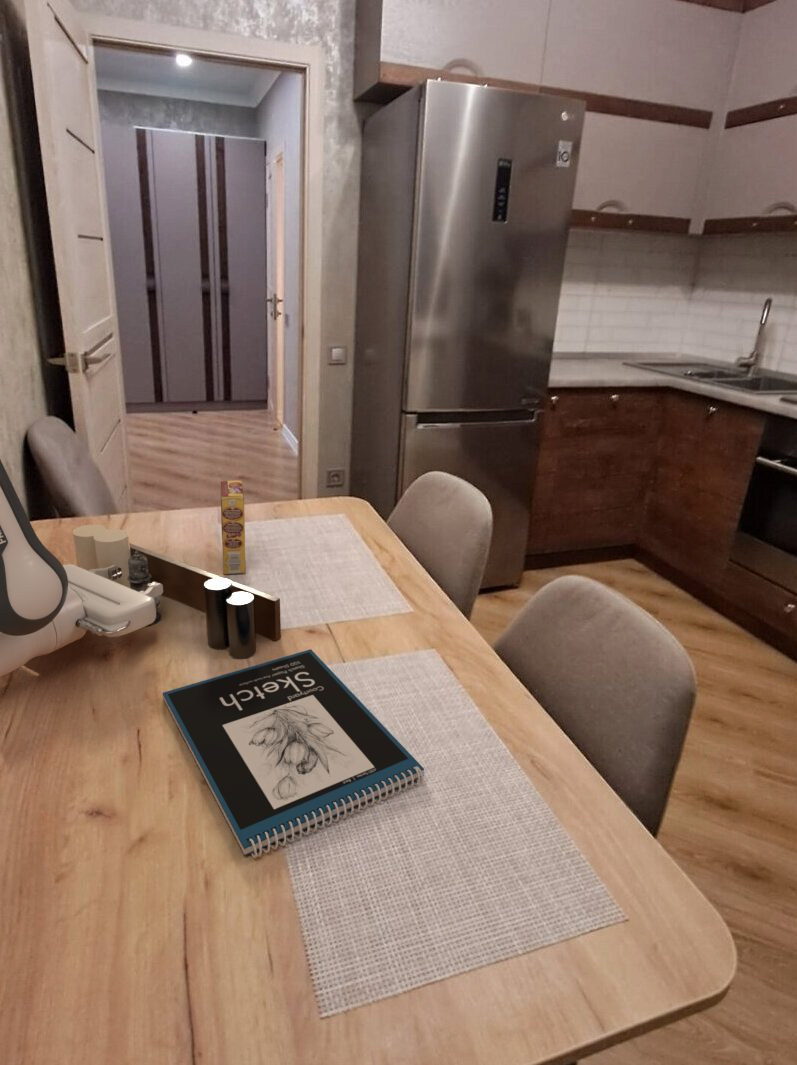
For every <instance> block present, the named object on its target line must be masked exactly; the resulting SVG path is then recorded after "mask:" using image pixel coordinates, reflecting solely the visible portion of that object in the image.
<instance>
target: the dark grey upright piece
mask: <svg viewBox="0 0 797 1065" xmlns="http://www.w3.org/2000/svg"><path fill="white" fill-rule="evenodd" d="M134 553H135V555H133V556H131V557H130V558H129V559H128V567H129V576H128V577H127V580H128V581H129V582H130V588H131V589H133V590H135V591H138V592H140V591H144V592H145V591H146V590H147V584H149V583H150V579H151V578H152V575H151V574H150V573H149V571H148V562H147V558H146V557H145V556H143V555H140V554H138V553H139V552H138V551H137V550H136V551H135V552H134ZM162 598H163V595H159V596H157V597H155V598H154V600H155V606H156V619H155V621H154V622H153V623H151V624H149V625H147V626H145V627H144V628H146V627H151V626H154V625H156V624H158V623H159V622H160V621H161V620H162V618H163V615H162V613H161V612H159V611H158V609H160V605H161V601H162Z"/></svg>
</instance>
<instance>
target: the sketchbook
mask: <svg viewBox="0 0 797 1065" xmlns="http://www.w3.org/2000/svg"><path fill="white" fill-rule="evenodd" d="M162 700H163V702H164V704H165V706H166V708H167V709H168V712H169V714H170V715H171V717H172V719H173V721H174V723H175V725H176V727H177V729H178V731H179V732H180V734H181V737H182V739H183V741H184V742H185V744H186V746H187V749H188V750H189V751H190V754H191V756H192V758H193V759H194V761H195V763H196V765H197V767H198V769H199V771H200V773H201V775H202V777H203V779H204V781H205V783H206V785H207V786H208V788H209V790H210V792H211V794H212V797H213V798H214V800H215V802H216V803H217V806H218V807H219V809H220V812H221V814H222V815H223V818H224V819H225V821H226V823H227V825H228V827H229V829H230V830H231V833H232V834H233V836H234V838H235V840H236V842H237V844H238V846H239V848H240V850H241V851H242V853H243V855H244V857H246V856H248V855H251V857H252V858H253V859H255V860H256V859H257V858H259V857H261V856H262V853H263V852H264V853H265V854H269V852H270V851H271V849H272V850H273V851H275V850H278V847H279V846H280V847H284V846H285V845H286V843H287V842H288V843H293V842H294V839H297V840H300V839H301V838H302V835H303V836H308V835H309V834H310V832H312V833H315V832H316V831H317V829H320V830H321V829H323V828H324V827H325V825H326V826H330V825H332V822H334V823H337V822H338V821H339V819H346V817H347V816H352V815H353V814H354V813H359V812H360V810H361V809H362V810H366V809H367V807H368V806H369V807H372V806H374V804H375V803H376V804H379V803H380V802H381V801H386V800H388V797H389V798H392V797H393V796H394V795H395V794H396V795H399V794H400V793H401V792H405V791H407V789H412V788H413V786H418V785H419V784H422V783H423V782H424V776H425V768H424V767H423V766H422V765H421V763H419V761H417V759H416V758H415V757H414V756H413V755H412V754H411V753H410V752H409V751H408V750H407V749H406V748H405V747H404V746H403V744H402V743H400V741H398V739H397V738H395V736H394V735H393V734H392V733H391V732H390V731H389V730H388V728H386V726H384V724H383V723H381V721H380V720H379V719H378V718H377V717H376V716H375V715H374V714H373V712H371V711H370V709H368V708H367V706H365V705H364V704H363V703H362V701H361V700H360V699H359V698H358V697H357V696H356V695H355V694H354V693H353V692H352V691H351V689H350V688H348V687H347V685H346V684H345V683H344V682H343V681H342V680H341V679H340V678H339V677H338V676H337V675H336V674H335V672H333V670H331V669H330V668H329V666H327V664H325V662H324V661H323V660H322V659H321V658H320V657H319V656H318V655H317V654H316V653H315V651H313V649H312V648H310V649H307V650H303V651H300V652H296V653H293V654H290V655H289V654H288V655H286V656H283V657H279V658H276V659H272V660H269V661H265V662H263V663H259V664H255V665H252V666H248V667H245V668H241V669H239V670H236V671H231V672H228V673H224V674H222V675H218V676H215V677H211V678H207V679H204V680H201V681H197V682H195V683H191V684H187V685H184V686H180V687H178V688H177V687H176V688H173V689H170V690H166V691H164V692H162ZM415 781H416V782H415ZM410 783H411V784H410ZM409 784H410V785H409ZM402 786H405V787H404V788H402ZM396 789H398V790H397V791H396ZM389 792H391V794H389ZM382 795H385V796H384V797H383V796H382ZM376 798H378V799H377V800H376ZM369 801H371V803H370V802H369ZM364 803H365V804H364ZM362 804H364V806H363V805H362ZM355 807H357V809H355ZM349 810H350V812H348V811H349ZM342 813H343V815H341V814H342ZM334 817H336V818H334ZM327 820H329V822H327ZM320 823H322V824H321V825H320ZM312 827H314V828H312ZM306 829H307V830H306ZM304 830H306V832H305V831H304ZM298 833H299V835H297V834H298ZM289 837H291V839H290V838H289ZM281 840H283V842H281ZM273 844H275V845H273ZM266 848H267V849H266ZM257 851H259V852H257Z"/></svg>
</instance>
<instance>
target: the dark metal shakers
mask: <svg viewBox="0 0 797 1065" xmlns="http://www.w3.org/2000/svg"><path fill="white" fill-rule="evenodd" d="M230 580H231V579H229V578H226V577H223V578H213V579H209V580H207V581H206V582H205V583H204V599H205V612H206V613H205V612H204V613H205V624H206V638H207V646H208V647H209V648H211V649H213V650H225V649H228V654H229V656H230V657H231V658H234V659H236V660H243V659H244V660H245V659H249V658H252V657H253V656H254V655H255V654H256V653H257V633H256V628H255V604H254V596H253V595H252V594H251V593H248V592H235V593H232V582H231V581H232V580H231V581H230Z"/></svg>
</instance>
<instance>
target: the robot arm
mask: <svg viewBox="0 0 797 1065" xmlns="http://www.w3.org/2000/svg"><path fill="white" fill-rule="evenodd" d="M121 571H122V570H121V568H120V567H117V566H115V565H112V566H110V567H107V568H100V569H91V570H88V571H87V570H85V569H82V568H80V567H78V566H77V565H76V564H72V563H70V564H69V563H68V564H63V563H62V562H61V560H59V559H58V558H57V557H56V556H55V555H54V554H53V553H52V552H51V551H50V550H49V549H48V548H47V547H46V546H45V545H44V544H43V543H42V541H41V540H40V539H39V537H38V535H37V533H36V531H35V530H34V528H33V526H32V523H31V521H30V519H29V517H28V515H27V513H26V510H25V508H24V506H23V504H22V502H21V500H20V497H19V495H18V493H17V491H16V489H15V487H14V485H13V482H12V481H11V479H10V476H9V474H8V472H7V470H6V467H5V466H4V464H3V462H2V460H1V459H0V678H1V677H4V676H5V675H8V674H9V673H12V672H14V671H16V670H18V669H20V668H22V667H23V666H25V665H26V664H27V663H28V662H29V661H30V660H32V659H34V658H36V657H40V656H45V655H49V654H51V653H53V652H55V651H58V650H60V649H61V648H63V647H66V646H68V645H69V644H72V643H74V642H76V641H78V640H80V639H82V638H83V637H84V636H85V635H86V632H87V631H88V632H90V633H92V634H93V635H95V636H98V637H101V636H105V637H107V638H118V637H121V636H125V635H127V634H130V633H132V632H136V631H138V630H140V629H142V628H146V627H145V626H147V625H149V624H151V623H153V622H154V621H155V619H156V606H155V600H154V598H155V597H157V596H159V595H161V594H162V593H163V585H162V584H160V583H157V582H152V583H149V584H147V590H146V591H145V592H144V591H140V592H138V591H135V590H133V589H131V588H128V587H126V586H123V585H121V584H119V583H116V582H114V581H113V580H116V579H117V578H120V577H121V576H122V572H121ZM109 579H110V580H109ZM111 580H112V581H111ZM161 596H162V595H161ZM147 627H148V626H147Z"/></svg>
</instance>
